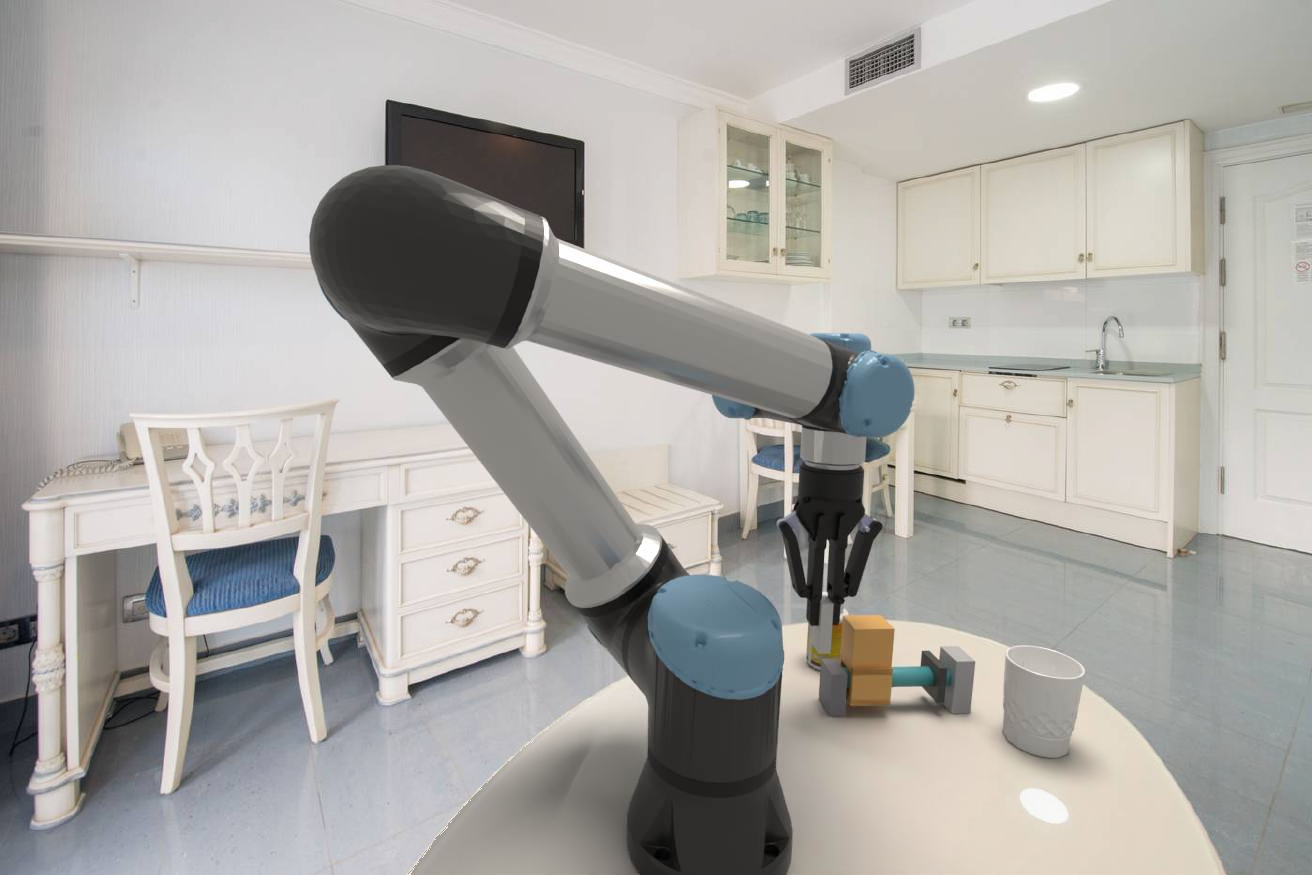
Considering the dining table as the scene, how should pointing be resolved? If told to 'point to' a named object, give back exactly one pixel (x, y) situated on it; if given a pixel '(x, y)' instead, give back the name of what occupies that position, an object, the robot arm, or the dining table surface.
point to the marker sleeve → (867, 659)
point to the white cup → (1041, 699)
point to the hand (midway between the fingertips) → (821, 648)
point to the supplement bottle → (815, 657)
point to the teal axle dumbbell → (910, 680)
